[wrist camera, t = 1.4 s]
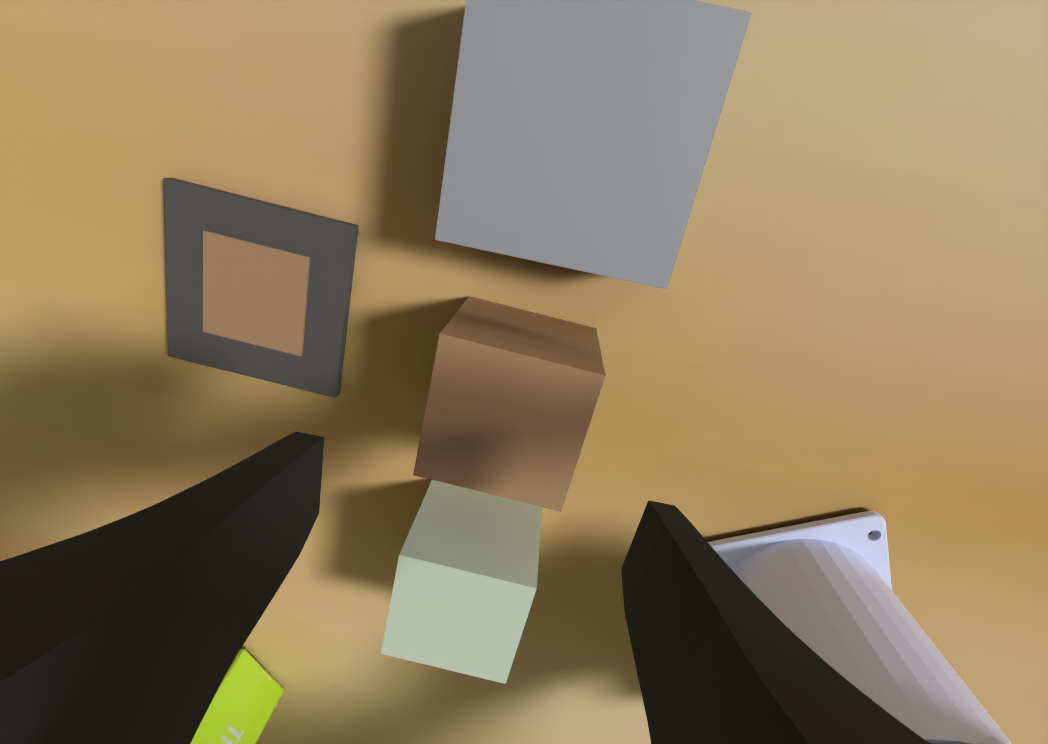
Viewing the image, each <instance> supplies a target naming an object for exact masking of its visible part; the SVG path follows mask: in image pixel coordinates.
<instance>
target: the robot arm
mask: <svg viewBox="0 0 1048 744" xmlns="http://www.w3.org/2000/svg"><path fill="white" fill-rule="evenodd" d="M323 447H324V437H320V436H315V435H310V434H305V433H299V432H294V433H292V434H290V435H288V436H286V437H284V438H283V439H281V440H279V441H277V442H275V443H274V444H272V445H270V446H268V447H266V448H265V449H263V450H261V451H259V452H257V453H256V454H254V455H252V456H250V457H248V458H247V459H245V460H243V461H241V462H239V463H237V464H235V465H234V466H232V467H230V468H228V469H226V470H224V471H222V472H221V473H219V474H217V475H215V476H213V477H211V478H209V479H207V480H205V481H203V482H201V483H199V484H197V485H195V486H193V487H191V488H188V489H186V490H184V491H182V492H180V493H178V494H176V495H174V496H172V497H170V498H168V499H166V500H164V501H162V502H160V503H157V504H155V505H153V506H151V507H148V508H146V509H144V510H141V511H139V512H137V513H134V514H132V515H130V516H127V517H125V518H122V519H120V520H117V521H114V522H112V523H109V524H107V525H104V526H102V527H99V528H97V529H94V530H92V531H89V532H86V533H84V534H81V535H78V536H75V537H72V538H69V539H66V540H63V541H60V542H57V543H54V544H51V545H48V546H45V547H42V548H39V549H36V550H33V551H31V552H28V553H25V554H22V555H19V556H16V557H13V558H10V559H6V560H3V561H0V744H191V742H192V740H193V737H194V735H195V733H196V731H197V729H198V727H199V725H200V723H201V722H202V720H203V718H204V716H205V714H206V712H207V710H208V708H209V706H210V704H211V702H212V700H213V698H214V696H215V694H216V692H217V690H218V688H219V686H220V684H221V682H222V680H223V678H224V676H225V675H226V673H227V671H228V669H229V668H230V666H231V664H232V663H233V661H234V659H235V657H236V656H237V654H238V652H239V651H240V649H241V647H242V646H243V644H244V643H245V641H246V639H247V638H248V636H249V635H250V633H251V632H252V630H253V628H254V627H255V625H256V624H257V622H258V620H259V619H260V617H261V616H262V614H263V612H264V611H265V609H266V608H267V606H268V605H269V603H270V601H271V600H272V598H273V597H274V595H275V593H276V592H277V590H278V589H279V587H280V585H281V584H282V582H283V581H284V579H285V577H286V576H287V574H288V573H289V571H290V569H291V568H292V566H293V565H294V563H295V561H296V560H297V558H298V556H299V555H300V553H301V550H302V548H303V546H304V544H305V542H306V540H307V538H308V536H309V534H310V531H311V529H312V527H313V525H314V523H315V520H316V518H317V516H318V514H319V506H320V491H321V476H322V462H323ZM874 530H875V532H874V533H872V534H870V535H869V533H870V532H871V531H874ZM622 583H623V596H624V607H625V615H626V621H627V626H628V631H629V635H630V640H631V645H632V650H633V655H634V659H635V664H636V669H637V674H638V678H639V683H640V688H641V692H642V697H643V702H644V706H645V711H646V716H647V721H648V726H649V732H650V738H651V744H1012V743H1011V742H1010V740H1009V739H1008V738H1007V737H1006V735H1005V734H1004V733H1003V731H1002V730H1001V729H1000V728H999V726H998V725H997V724H996V723H995V721H994V720H993V719H992V717H991V716H990V715H989V714H988V712H987V711H986V710H985V709H984V707H983V706H982V705H981V703H980V702H979V701H978V700H977V698H976V697H975V696H974V695H973V693H972V692H971V691H970V689H969V688H968V687H967V686H966V684H965V683H964V682H963V681H962V679H961V678H960V677H959V675H958V674H957V673H956V672H955V670H954V669H953V668H952V667H951V665H950V664H949V663H948V662H947V660H946V659H945V658H944V656H943V655H942V654H941V653H940V651H939V650H938V649H937V648H936V646H935V645H934V644H933V642H932V641H931V640H930V639H929V637H928V636H927V635H926V634H925V632H924V631H923V630H922V628H921V627H920V626H919V625H918V623H917V622H916V621H915V620H914V618H913V617H912V616H911V614H910V613H909V612H908V611H907V609H906V608H905V607H904V606H903V604H902V603H901V602H900V600H899V599H898V598H897V597H896V595H895V594H894V593H893V592H892V588H891V577H890V565H889V554H888V543H887V531H886V522H885V519H884V518H883V517H882V516H881V515H880V514H879V513H878V512H875V511H865V512H860V513H855V514H850V515H844V516H839V517H834V518H829V519H824V520H819V521H813V522H808V523H803V524H798V525H793V526H788V527H782V528H777V529H772V530H767V531H762V532H757V533H751V534H746V535H741V536H736V537H731V538H726V539H720V540H715V541H710V542H707V541H706V540H705V539H704V537H703V536H702V535H701V534H700V533H699V532H698V531H697V529H696V528H695V527H694V526H693V525H692V524H691V523H690V521H689V520H688V519H687V518H686V517H685V516H684V515H683V514H682V513H681V512H680V511H679V510H678V509H677V507H676V506H674V505H669V504H664V503H658V502H653V501H648V503H647V505H646V508H645V510H644V513H643V516H642V518H641V521H640V523H639V526H638V528H637V531H636V533H635V536H634V538H633V541H632V543H631V546H630V549H629V551H628V554H627V556H626V559H625V561H624V564H623V566H622Z"/></svg>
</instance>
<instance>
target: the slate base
mask: <svg viewBox="0 0 1048 744" xmlns="http://www.w3.org/2000/svg"><path fill="white" fill-rule="evenodd" d="M750 16H751V12H747V11H742V10H737V9H733V8H728V7H723V6H719V5H714V4H710V3H705V2H700V1H696V0H466V5H465V13H464V20H463V28H462V36H461V43H460V51H459V59H458V66H457V74H456V82H455V89H454V97H453V105H452V112H451V120H450V128H449V135H448V143H447V151H446V158H445V166H444V174H443V181H442V189H441V197H440V204H439V212H438V220H437V227H436V235H435V240H438V241H443V242H448V243H452V244H457V245H462V246H467V247H471V248H476V249H481V250H485V251H490V252H495V253H499V254H504V255H509V256H513V257H518V258H523V259H527V260H532V261H537V262H541V263H546V264H551V265H555V266H560V267H565V268H570V269H574V270H579V271H584V272H588V273H593V274H598V275H602V276H607V277H612V278H616V279H621V280H626V281H630V282H635V283H640V284H644V285H649V286H654V287H659V288H663V289H667V287H668V283H669V280H670V277H671V274H672V270H673V267H674V264H675V261H676V257H677V254H678V251H679V248H680V244H681V241H682V238H683V235H684V231H685V228H686V225H687V221H688V218H689V215H690V212H691V208H692V205H693V202H694V199H695V195H696V192H697V189H698V186H699V182H700V179H701V176H702V173H703V169H704V166H705V163H706V160H707V156H708V153H709V150H710V146H711V143H712V140H713V137H714V133H715V130H716V127H717V124H718V120H719V117H720V114H721V111H722V107H723V104H724V101H725V98H726V94H727V91H728V88H729V85H730V81H731V78H732V75H733V71H734V68H735V65H736V62H737V58H738V55H739V52H740V49H741V45H742V42H743V39H744V36H745V32H746V29H747V26H748V23H749V19H750Z"/></svg>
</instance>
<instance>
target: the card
mask: <svg viewBox="0 0 1048 744" xmlns="http://www.w3.org/2000/svg"><path fill="white" fill-rule="evenodd" d="M164 206H165V245H166V284H167V323H168V356H170V357H174V358H178V359H182V360H186V361H190V362H194V363H198V364H202V365H206V366H210V367H214V368H218V369H222V370H226V371H230V372H234V373H238V374H242V375H246V376H250V377H254V378H258V379H262V380H266V381H270V382H274V383H278V384H282V385H286V386H290V387H294V388H298V389H302V390H306V391H310V392H314V393H318V394H322V395H326V396H330V397H334V398H336V397H337V396H338V395H339V394H340V385H341V376H342V367H343V358H344V349H345V341H346V332H347V323H348V314H349V305H350V296H351V287H352V279H353V270H354V261H355V252H356V243H357V234H358V225H355V224H351V223H347V222H343V221H339V220H335V219H331V218H327V217H323V216H319V215H315V214H312V213H308V212H304V211H300V210H296V209H292V208H288V207H284V206H280V205H276V204H272V203H268V202H265V201H261V200H257V199H253V198H249V197H245V196H241V195H237V194H233V193H229V192H225V191H221V190H217V189H214V188H210V187H206V186H202V185H198V184H194V183H190V182H186V181H182V180H178V179H174V178H164Z"/></svg>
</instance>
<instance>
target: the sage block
mask: <svg viewBox="0 0 1048 744" xmlns="http://www.w3.org/2000/svg"><path fill="white" fill-rule="evenodd" d="M541 521H542V507H540V506H536V505H532V504H528V503H524V502H520V501H516V500H512V499H508V498H504V497H500V496H496V495H492V494H488V493H484V492H480V491H476V490H472V489H468V488H464V487H460V486H455V485H451V484H447V483H443V482H439V481H435V480H432V481H431V483H430V486H429V488H428V490H427V492H426V495H425V497H424V499H423V502H422V504H421V506H420V508H419V511H418V513H417V515H416V518H415V520H414V522H413V524H412V527H411V529H410V531H409V533H408V536H407V538H406V540H405V543H404V545H403V547H402V549H401V552H400V554H399V558H398V564H397V569H396V575H395V580H394V585H393V591H392V596H391V601H390V607H389V612H388V618H387V623H386V628H385V634H384V639H383V645H382V650H381V654H384V655H388V656H392V657H396V658H401V659H405V660H409V661H413V662H417V663H421V664H425V665H429V666H434V667H438V668H442V669H446V670H450V671H454V672H458V673H462V674H467V675H471V676H475V677H479V678H483V679H487V680H491V681H495V682H500V683H504V684H506V682H507V679H508V675H509V672H510V669H511V666H512V663H513V660H514V657H515V654H516V651H517V648H518V645H519V642H520V639H521V635H522V632H523V629H524V626H525V623H526V620H527V617H528V614H529V611H530V608H531V605H532V602H533V599H534V595H535V592H536V589H537V578H538V564H539V549H540V535H541Z"/></svg>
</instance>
